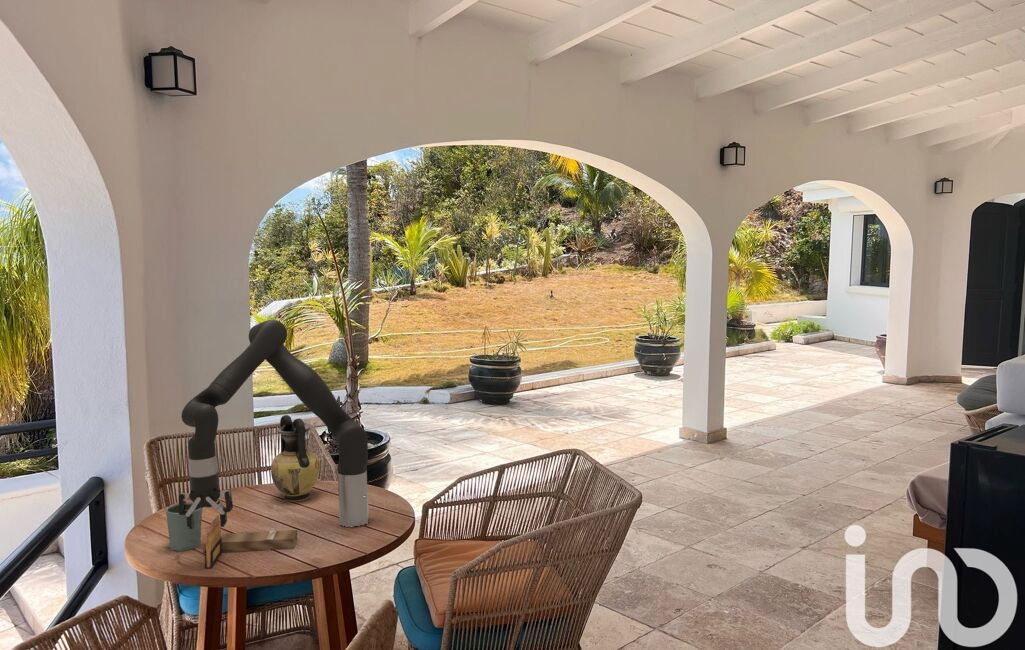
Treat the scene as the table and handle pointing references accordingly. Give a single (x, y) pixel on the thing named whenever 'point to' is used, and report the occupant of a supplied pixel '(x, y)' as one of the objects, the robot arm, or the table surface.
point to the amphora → (294, 462)
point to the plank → (257, 541)
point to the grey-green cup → (183, 528)
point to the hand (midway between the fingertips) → (207, 527)
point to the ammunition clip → (213, 543)
